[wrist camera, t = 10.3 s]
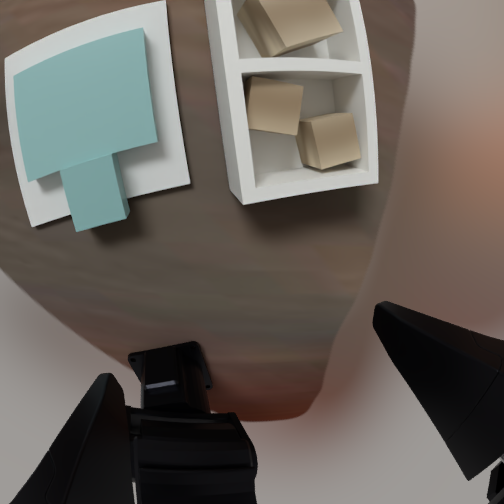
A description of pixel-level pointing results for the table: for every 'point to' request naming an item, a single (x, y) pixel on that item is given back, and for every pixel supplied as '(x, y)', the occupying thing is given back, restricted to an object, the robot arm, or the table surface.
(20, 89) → the lid
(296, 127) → the cube
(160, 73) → the mat
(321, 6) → the cube
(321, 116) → the cube
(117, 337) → the table surface
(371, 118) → the tub
